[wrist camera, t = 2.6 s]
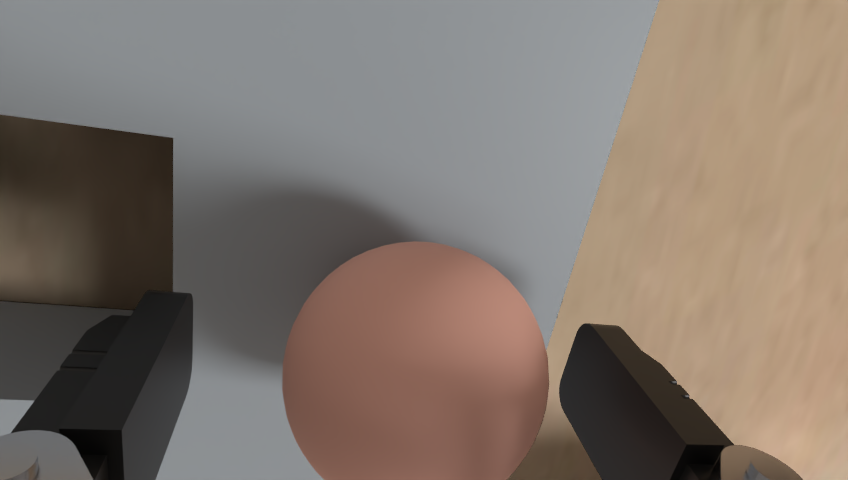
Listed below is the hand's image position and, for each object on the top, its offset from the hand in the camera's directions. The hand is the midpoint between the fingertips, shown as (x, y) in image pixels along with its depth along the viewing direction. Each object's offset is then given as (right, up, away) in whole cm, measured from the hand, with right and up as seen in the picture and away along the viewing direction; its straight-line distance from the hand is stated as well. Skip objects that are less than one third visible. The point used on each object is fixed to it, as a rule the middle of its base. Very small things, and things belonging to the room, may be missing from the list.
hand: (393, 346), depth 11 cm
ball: (0, 0, -1) cm, 1 cm away
